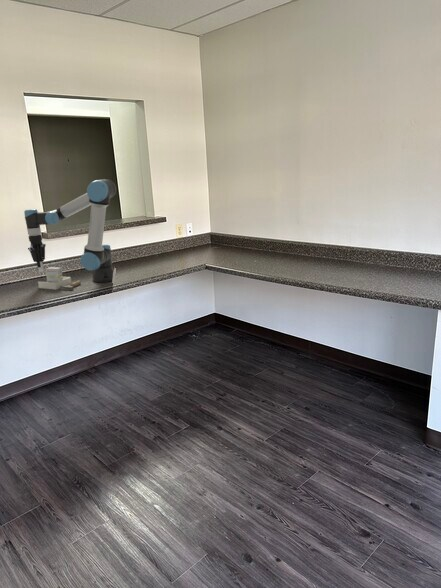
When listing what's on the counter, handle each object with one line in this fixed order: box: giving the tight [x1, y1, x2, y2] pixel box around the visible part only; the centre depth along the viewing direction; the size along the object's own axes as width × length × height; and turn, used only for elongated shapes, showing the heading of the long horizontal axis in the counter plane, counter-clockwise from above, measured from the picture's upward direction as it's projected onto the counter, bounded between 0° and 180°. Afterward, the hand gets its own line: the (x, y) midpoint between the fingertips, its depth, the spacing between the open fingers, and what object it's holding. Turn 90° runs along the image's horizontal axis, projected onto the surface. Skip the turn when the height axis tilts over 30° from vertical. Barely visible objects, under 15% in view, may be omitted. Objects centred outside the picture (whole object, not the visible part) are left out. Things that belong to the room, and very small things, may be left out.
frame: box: [37, 276, 73, 291], centre depth 278 cm, size 13×15×4 cm
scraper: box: [59, 280, 82, 291], centre depth 274 cm, size 13×8×2 cm, turn 159°
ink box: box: [44, 266, 64, 283], centre depth 276 cm, size 9×5×12 cm, turn 78°
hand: (41, 271), depth 280 cm, fingers closed
